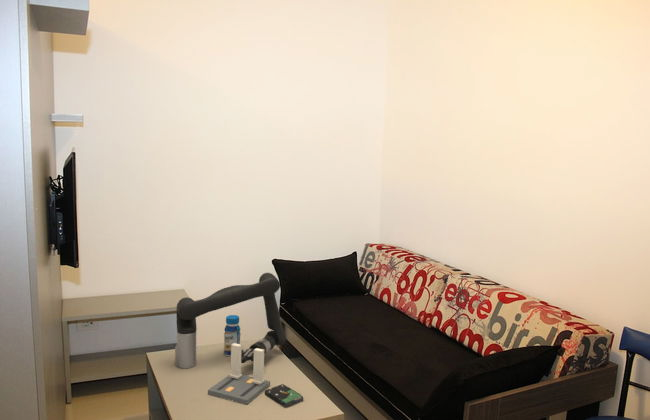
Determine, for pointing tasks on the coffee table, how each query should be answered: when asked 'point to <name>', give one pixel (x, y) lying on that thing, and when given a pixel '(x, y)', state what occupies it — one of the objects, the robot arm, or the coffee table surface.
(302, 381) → the coffee table surface
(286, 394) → the disk drive
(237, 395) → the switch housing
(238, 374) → the beige square pillar
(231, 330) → the beverage bottle
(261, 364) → the beige tall rectangular block
